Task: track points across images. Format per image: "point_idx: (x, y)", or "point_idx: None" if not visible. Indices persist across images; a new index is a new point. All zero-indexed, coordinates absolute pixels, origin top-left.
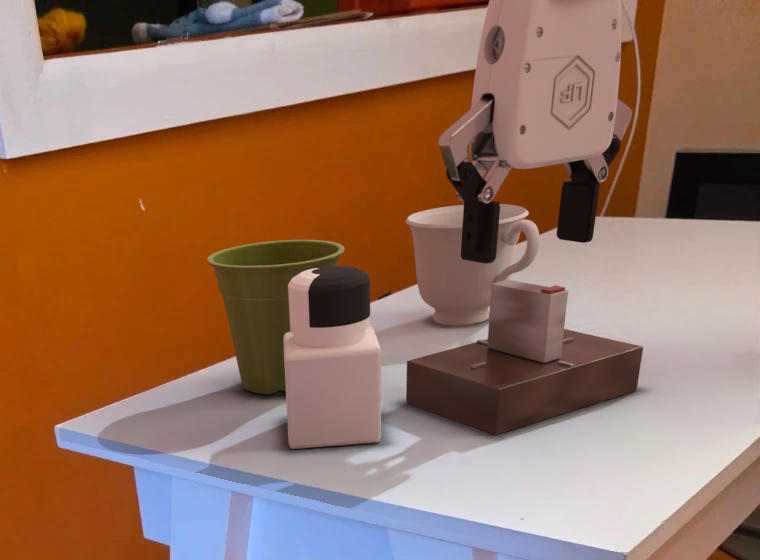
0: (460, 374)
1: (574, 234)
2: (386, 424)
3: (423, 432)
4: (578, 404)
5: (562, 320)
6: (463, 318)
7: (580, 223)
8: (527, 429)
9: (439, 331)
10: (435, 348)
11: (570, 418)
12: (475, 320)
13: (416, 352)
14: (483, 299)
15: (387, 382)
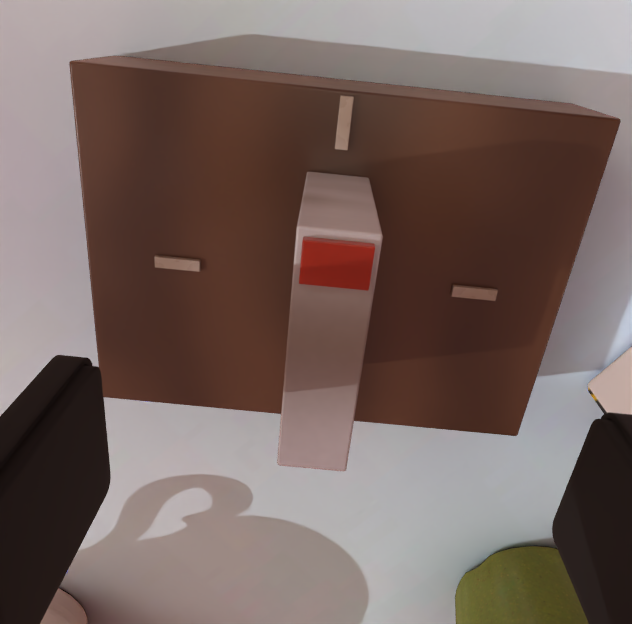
0: (554, 280)
1: (96, 423)
2: (619, 327)
3: (627, 240)
4: (315, 77)
5: (316, 198)
6: (55, 600)
7: (73, 432)
8: (496, 76)
9: (117, 595)
10: (196, 542)
11: (375, 47)
12: None
13: (237, 550)
14: None
15: (408, 481)
